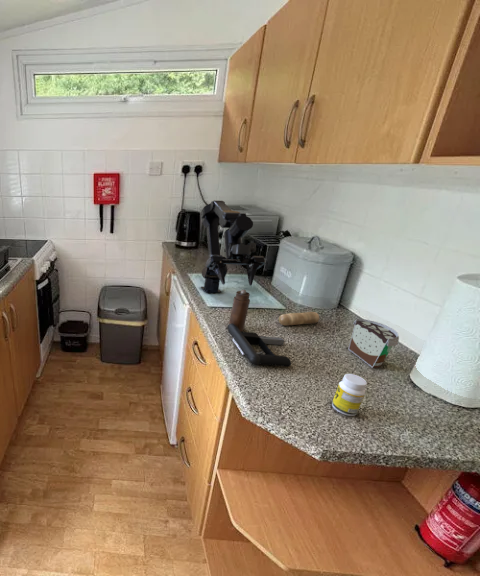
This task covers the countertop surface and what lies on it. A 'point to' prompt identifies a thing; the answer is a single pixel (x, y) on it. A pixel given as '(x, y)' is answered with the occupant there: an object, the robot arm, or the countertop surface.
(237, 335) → the door handle
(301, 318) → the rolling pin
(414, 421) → the countertop surface
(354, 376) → the supplement bottle
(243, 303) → the pepper mill
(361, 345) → the food container
